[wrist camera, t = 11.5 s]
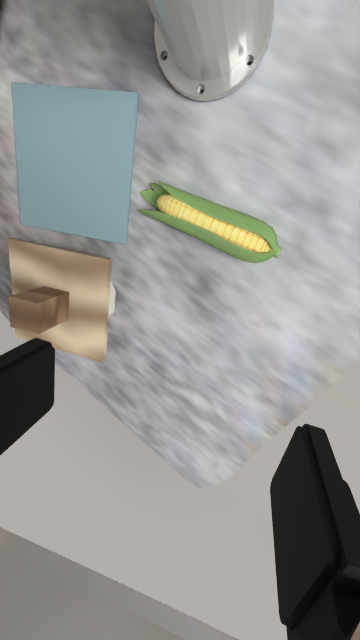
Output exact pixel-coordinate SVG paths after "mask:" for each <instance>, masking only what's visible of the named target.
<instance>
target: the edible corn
mask: <svg viewBox="0 0 360 640" xmlns="http://www.w3.org/2000/svg"><path fill="white" fill-rule="evenodd" d="M159 183H160V185H161V186H160V185H158V184H155V183H150V184H151V186H152V188H153V189H154V191H152V190H145V191H142V192H140V193H141V194H142V196H143V197H144V199H145V200H146V201H148V202H149V203H150V204H152V205H153V206H154V207H156V208H157V209H158V211H151V210H143V209H140V210H138V211H140V212H141V213H143V214H145V215H147V216H149V217H152V218H154V219H156V220H158V221H161V222H163V223H165V224H168V225H170V226H172V227H174V228H177V229H179V230H181V231H183V232H185V233H187V234H189V235H191V236H194V237H196V238H198V239H200V240H202V241H204V242H206V243H208V244H210V245H212V246H214V247H216V248H218V249H220V250H222V251H224V252H226V253H228V254H230V255H232V256H234V257H236V258H239V259H241V260H243V261H247V262H252V263H259V262H264V261H266V260H268V259H270V258H271V257H272V256H274V257H276V258H277V257H278V255H279V253H280V251H281V249H282V248H281V247H279V246H278V244H277V235H276V233H275V231H274V229H273V228H272V227H271V226H269V225H268V224H267V223H265V222H264V221H262V220H259V219H257V218H254V217H252V216H250V215H247V214H244V213H241V212H238V211H236V210H233V209H230V208H227V207H224V206H221V205H219V204H216V203H213V202H211V201H208V200H206V199H203V198H200V197H198V196H195V195H192V194H190V193H187V192H185V191H182V190H180V189H177V188H175V187H172V186H170V185H167V184H165V183H162V182H160V181H159Z"/></svg>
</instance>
